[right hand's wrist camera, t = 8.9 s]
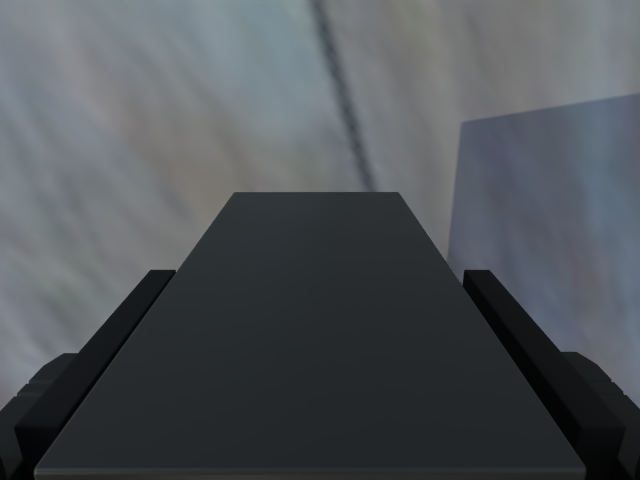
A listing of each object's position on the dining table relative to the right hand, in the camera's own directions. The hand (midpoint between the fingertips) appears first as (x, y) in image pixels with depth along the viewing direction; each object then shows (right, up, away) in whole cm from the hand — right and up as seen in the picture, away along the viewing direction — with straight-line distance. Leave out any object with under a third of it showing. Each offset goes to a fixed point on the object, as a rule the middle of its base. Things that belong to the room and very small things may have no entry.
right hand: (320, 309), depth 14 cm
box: (0, -6, +5) cm, 8 cm away
